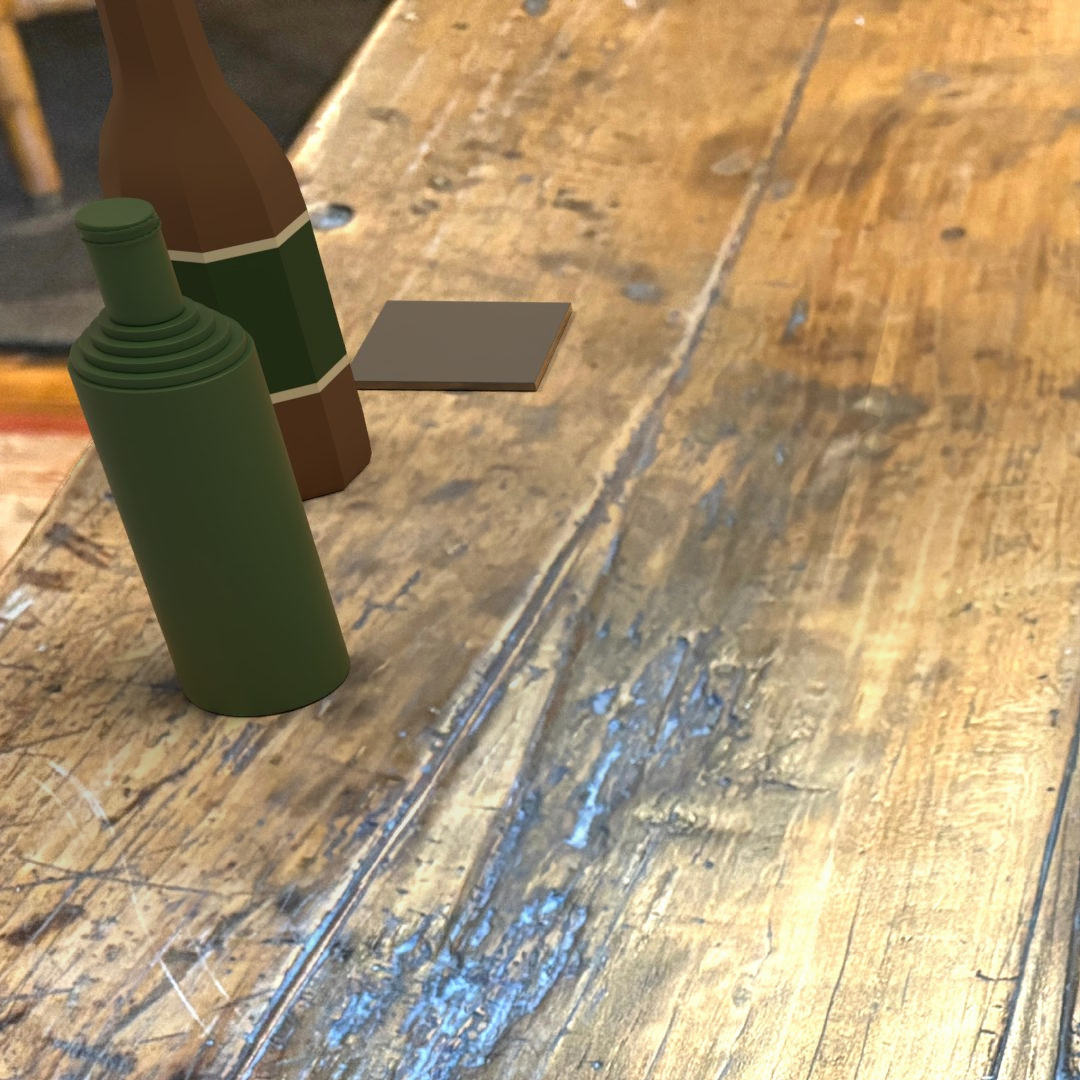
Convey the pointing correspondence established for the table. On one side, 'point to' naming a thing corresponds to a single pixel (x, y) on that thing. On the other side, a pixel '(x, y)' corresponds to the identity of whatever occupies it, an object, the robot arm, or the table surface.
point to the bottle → (201, 479)
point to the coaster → (460, 345)
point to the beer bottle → (231, 225)
